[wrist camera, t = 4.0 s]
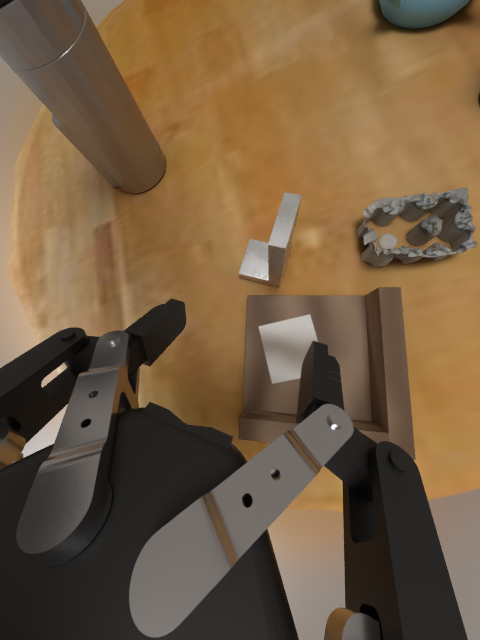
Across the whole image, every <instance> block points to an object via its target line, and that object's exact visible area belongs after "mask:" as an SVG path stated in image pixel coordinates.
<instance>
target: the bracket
mask: <svg viewBox="0 0 480 640" xmlns="http://www.w3.org/2000/svg"><path fill="white" fill-rule="evenodd" d="M301 197H302V195H298V194H291V193H284V196H283V199H282V202H281V205H280V209H279V212H278V215H277V218H276V221H275V225H274V228H273V231H272V234H271V237H270V241H269V243H267V242H262V241H257V240H252V239H250V241H249V244H248V247H247V250H246V253H245V256H244V259H243V262H242V265H241V269H240V272H239V275H240V278H243V279H247V280H251V281H255V282H259V283H263V284H267V285H271V286H275V287H279V288H280V284H281V281H282V278H283V274H284V271H285V268H286V264H287V261H288V257H289V254H290V250H291V245H292V240H293V235H294V230H295V226H296V221H297V216H298V211H299V207H300V202H301Z"/></svg>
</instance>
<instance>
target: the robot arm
mask: <svg viewBox="0 0 480 640" xmlns="http://www.w3.org/2000/svg"><path fill="white" fill-rule="evenodd" d="M0 57H1V58H2V59H3V60H4V61H5V62H6V63H7V64H8V65H9V66H10V68H11V69H12V70H13V71H14V72H15V73H16V74H17V75H18V76H19V77H20V78H21V80H22V81H23V82H24V83H25V84H26V85H27V86H28V87H29V88H30V89H31V90H32V92H33V93H34V94H35V95H36V96H37V97H38V98H39V99H40V100H41V102H42V103H43V104H44V105H45V106H46V107H47V108H48V109H49V110H50V111H51V113H52V114H53V116H52V121H53V123H54V125H55V126H56V127H57V128H58V129H59V130H60V131H61V132H62V133H63V134H64V135H65V136H66V138H67V139H68V140H69V141H70V142H71V143H72V144H73V145H74V146H75V147H76V148H77V149H78V150H79V151H80V152H81V153H82V154H83V155H84V157H85V158H86V159H87V160H88V161H89V162H90V163H91V164H92V165H93V166H94V167H95V168H96V169H97V170H98V171H99V172H100V173H101V174H102V176H103V177H104V178H105V179H106V180H107V181H108V182H109V183H110V184H111V185H112V186H113V187H119V188H121V189H122V190H123V191H126V192H128V193H141V192H144V191H146V190H148V189H150V188H152V187H153V186H154V185H156V184H157V182H158V181H159V180H160V179H161V177H162V176H163V173H164V171H165V167H166V160H165V156H164V154H163V152H162V151H161V149H160V146H159V144H158V142H157V141H156V139H155V137H154V135H153V134H152V132H151V130H150V128H149V126H148V124H147V122H146V120H145V118H144V117H143V115H142V113H141V111H140V109H139V107H138V105H137V103H136V102H135V100H134V98H133V96H132V94H131V92H130V90H129V89H128V87H127V85H126V83H125V81H124V79H123V77H122V75H121V74H120V72H119V70H118V68H117V66H116V64H115V62H114V60H113V59H112V57H111V55H110V53H109V51H108V49H107V47H106V46H105V44H104V42H103V40H102V38H101V36H100V34H99V32H98V31H97V29H96V27H95V25H94V23H93V22H92V19H91V18H90V16H89V14H88V12H87V11H86V8H85V6H84V5H83V3H82V1H81V0H0ZM185 325H186V313H185V304H184V302H182V301H178V300H175V299H170V300H169V301H168V302H166V303H165V304H161V305H159V306H156V307H154V308H153V309H151V310H150V311H149V312H148V313H146V314H145V315H144V316H143V317H141V318H140V319H138V320H137V321H136V322H135V323H133V324H132V325H131V326H129V327H128V328H127V329H126V330H124V331H112V332H109V333H106V334H104V335H103V336H101V337H93V336H87V335H86V333H85V331H84V330H83V329H81V328H67V329H64V330H61V331H59V332H57V333H56V334H54V335H52V336H51V337H49V338H48V339H46V340H45V341H43V342H41V343H40V344H38V345H37V346H35V347H33V348H32V349H30V350H29V351H27V352H25V353H24V354H22V355H21V356H19V357H17V358H16V359H14V360H13V361H11V362H10V363H8V364H6V365H5V366H3V367H2V368H0V640H299V639H298V635H297V632H296V628H295V624H294V621H293V617H292V614H291V610H290V607H289V603H288V600H287V596H286V593H285V589H284V586H283V582H282V579H281V575H280V572H279V568H278V565H277V561H276V557H275V554H274V551H273V547H272V543H271V540H270V536H269V533H268V529H267V528H268V527H269V526H270V525H271V523H273V522H274V520H275V519H276V518H277V517H278V516H279V515H280V514H281V513H282V512H283V511H284V510H285V509H286V508H287V506H288V505H289V504H290V503H291V502H292V501H293V500H294V499H295V498H296V497H297V496H298V495H299V494H300V492H301V491H302V490H303V489H304V488H305V487H306V486H307V485H308V484H309V483H310V482H311V481H312V479H313V478H314V477H315V476H316V475H317V474H318V473H319V471H320V469H321V468H322V467H323V466H325V467H326V468H327V469H329V470H330V471H331V472H332V473H334V474H335V475H336V476H337V477H339V478H340V479H341V480H342V481H343V517H344V557H345V558H344V561H345V601H346V602H345V604H346V608H337V609H335V610H334V611H333V612H332V613H331V614H330V616H329V618H328V620H327V623H326V628H325V636H324V640H468V639H467V636H466V632H465V628H464V625H463V621H462V618H461V614H460V611H459V608H458V604H457V601H456V597H455V594H454V590H453V587H452V583H451V580H450V577H449V573H448V569H447V566H446V562H445V559H444V556H443V552H442V549H441V545H440V542H439V538H438V535H437V531H436V528H435V524H434V521H433V517H432V514H431V511H430V507H429V503H428V500H427V496H426V493H425V490H424V486H423V483H422V479H421V476H420V472H419V470H418V467H417V465H416V464H415V462H414V460H413V459H412V458H411V456H410V455H409V454H408V453H407V452H406V451H405V450H404V449H402V448H401V447H400V446H398V445H396V444H394V443H392V442H389V441H382V442H380V443H376V442H375V441H373V440H372V439H370V438H369V437H367V436H366V435H364V434H363V433H362V432H360V431H359V430H358V429H356V428H355V427H354V426H353V423H352V421H351V419H350V417H349V416H348V415H347V413H346V412H345V410H344V401H343V392H342V383H341V375H340V374H341V373H340V365H339V363H338V361H337V360H336V358H335V357H334V356H331V355H328V345H327V344H323V343H320V342H316V341H312V343H311V345H310V347H309V349H308V351H307V354H306V356H305V358H304V360H303V363H302V368H301V377H300V387H299V397H298V407H297V418H296V423H299V425H297V426H296V427H295V428H294V429H292V430H291V431H286V432H285V433H283V434H282V435H281V436H280V437H278V438H277V439H276V440H275V441H273V442H272V443H271V444H270V445H268V446H267V447H266V448H264V449H263V450H262V451H261V452H259V453H258V454H257V455H256V456H254V457H253V458H252V459H251V460H249V461H248V462H247V461H246V459H245V458H244V456H243V455H242V453H241V452H240V451H239V450H238V449H237V447H235V446H234V445H233V444H232V439H233V437H232V436H230V435H228V434H225V433H223V432H221V431H218V430H216V429H213V428H211V427H202V426H193V425H187V424H185V423H184V422H182V421H181V420H180V419H179V418H178V417H177V416H175V415H174V414H173V413H172V412H171V411H170V410H168V409H166V408H163V407H161V406H158V405H156V404H154V403H151V402H149V404H148V405H147V406H146V408H139V404H138V390H139V376H140V368H139V367H140V366H141V365H142V364H145V365H147V366H151V365H152V364H153V363H154V362H155V360H156V359H157V358H158V357H159V356H160V355H161V354H162V353H163V352H164V350H165V349H166V348H167V347H168V346H169V345H170V344H171V343H172V342H173V341H174V339H175V338H176V337H177V336H178V335H179V334H180V333H181V332H182V331H183V329H184V328H185ZM63 363H65V364H66V366H67V367H68V368H67V369H66V370H64V371H63V372H62V373H61V374H59V375H58V376H57V377H56V378H54V379H53V380H52V381H51V382H49V383H48V384H47V385H46V386H44V387H43V388H42V387H41V382H42V380H43V379H44V377H46V376H47V375H48V374H50V373H51V372H52V371H53V370H55V369H56V368H57V367H59V366H60V365H61V364H63ZM67 404H68V406H67V409H66V412H65V415H64V418H63V420H62V423H61V426H60V429H59V432H58V435H57V438H56V440H55V443H54V444H53V445H50V446H48V447H46V448H44V449H42V450H39V451H37V452H35V453H33V454H31V455H29V456H27V457H25V458H23V453H21V452H22V450H23V448H24V446H25V444H26V443H27V442H28V441H29V440H30V439H31V438H32V437H33V436H34V435H36V434H37V433H38V432H39V430H41V429H42V428H43V427H44V426H45V425H46V424H47V423H48V422H49V421H50V420H51V419H52V418H53V417H54V416H55V415H56V414H57V413H59V411H61V410H62V409H63V408H64V407H65V406H66V405H67Z"/></svg>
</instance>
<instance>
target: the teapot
mask: <svg viewBox="0 0 480 640" xmlns="http://www.w3.org/2000/svg"><path fill="white" fill-rule="evenodd" d="M469 1H470V0H379V3H380V7H381V11H382V14H383V15H384V17H385V18H386V19H387V20H388V21H389V22H391V23H392V24H394V25H396V26H399V27H403V28H410V29H418V28H426V27H430V26H434V25H437V24H439V23H441V22H443V21H445V20H447V19H449V18H450V17H452V16H453V15H454V14H455V13H457V12H458V11H459V10H460V9H461V8H462V7H464V6H465V5H466V4H467V3H468V2H469Z"/></svg>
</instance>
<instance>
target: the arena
mask: <svg viewBox="0 0 480 640" xmlns="http://www.w3.org/2000/svg"><path fill="white" fill-rule="evenodd" d="M312 341H316V342H320V343H323V344H327V345H328V355H331V356H334V357H335V358H336V360H337V361H338V363H339V365H340V373H341V374H340V375H341V383H342V392H343V401H344V410H345V412H346V413H347V415H348V416H349V417H350V419H351V421H352V423H353V426H354V427H355V428H356V429H358V430H359V431H360V432H362V433H363V434H364V435H366V436H367V437H369V438H370V439H372V440H373V441H375V442H376V443H380V442H382V441H389V442H392V443H394V444H396V445H398V446H400V447H401V448H402V449H404V450H405V451H406V452H407V453H408V454H409V455H410V456H411V458H412V459H414V460H415V449H414V438H413V426H412V414H411V403H410V391H409V380H408V368H407V356H406V345H405V333H404V322H403V310H402V299H401V287H379V288H377V289H376V290H374V291H372V292H370V293H369V294H367V295H365V296H279V295H248V303H247V328H246V353H245V378H244V403H243V411H242V413H241V416H240V418H239V439H243V440H252V441H260V442H269V443H272V442H273V441H275V440H276V439H277V438H278V437H280V436H281V435H282V434H283V433H285V432H286V431H291V430H292V429H294V428H295V427H296V426H297V425H299V423H296V418H297V407H298V397H299V387H300V377H301V368H302V363H303V360H304V358H305V356H306V354H307V351H308V349H309V347H310V345H311V343H312Z"/></svg>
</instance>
